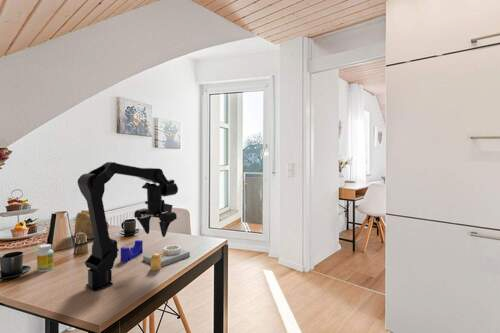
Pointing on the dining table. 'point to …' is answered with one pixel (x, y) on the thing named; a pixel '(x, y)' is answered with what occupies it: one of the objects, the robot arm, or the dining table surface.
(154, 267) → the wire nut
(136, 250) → the cable clip
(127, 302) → the dining table surface
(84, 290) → the dining table surface
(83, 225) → the rough brown rock
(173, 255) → the plate
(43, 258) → the supplement bottle
